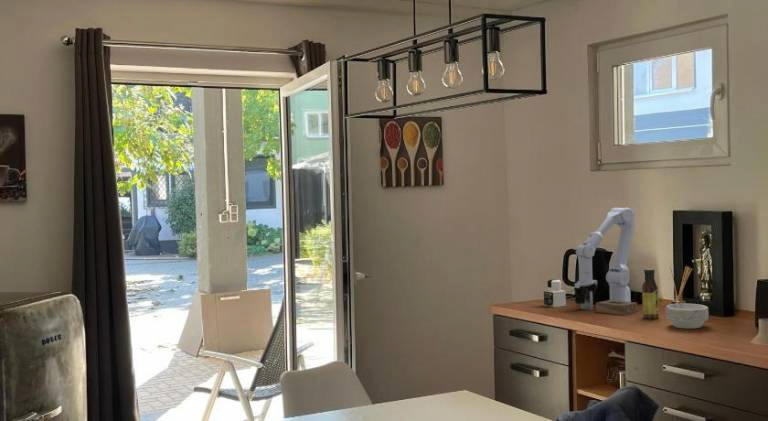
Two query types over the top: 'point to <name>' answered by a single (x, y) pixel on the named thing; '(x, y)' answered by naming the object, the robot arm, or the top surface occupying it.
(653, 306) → the sauce bottle
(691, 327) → the grey stone bowl
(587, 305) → the rail bracket
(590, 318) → the top surface
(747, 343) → the top surface
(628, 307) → the brown wooden block
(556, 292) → the medicine bottle
